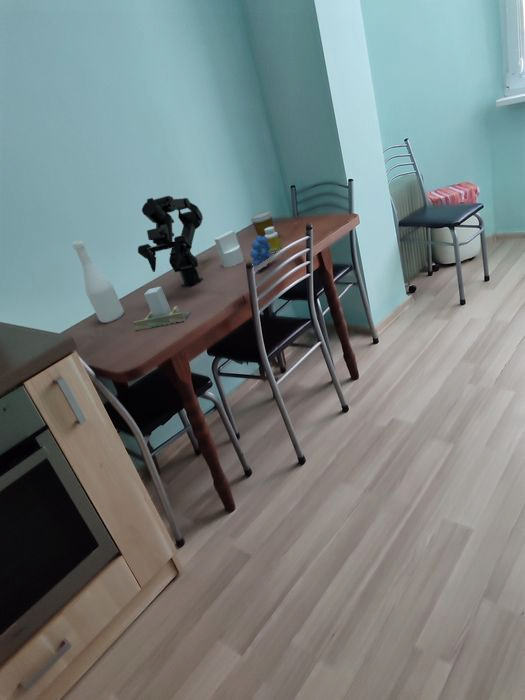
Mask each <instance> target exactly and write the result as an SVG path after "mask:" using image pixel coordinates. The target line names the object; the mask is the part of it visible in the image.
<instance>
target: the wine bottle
mask: <svg viewBox="0 0 525 700" xmlns="http://www.w3.org/2000/svg"><path fill="white" fill-rule="evenodd" d="M72 247H73V249H74V250H75V251H76V253H77V256H78V258H79V260H80V262H81V266H82V269H83V277H84V286H85V292H86V296H87V298H88V299H89V303H90V304H91V306H92V308H93V310H94V312H95V314H96V316H97V318H98V320H99V321H100V322H101V323H103V324H105V323H106V324H107V323H111V322H114V321H116V320H118V319H120V318H121V317H122V316H123V315H124V313H125V311H124V307H123V306H122V304H121V303H122V302H120V298H119V297H118V294H117V293H116V289H114V286H113V284H112V283H111V281H110V280H109V279H108V278H107V277H106V276H105V275H104V273H103V272H102V271H101V270H100V269H99V268H98V267H97V266H96V265H95V264H94V262H93V261H92V258H91V257H90V255H89V253H88V251H87V249H86V247H85V242H84V241H82V239H78V240H75V241H73V242H72Z"/></svg>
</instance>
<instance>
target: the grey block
mask: <svg viewBox="0 0 525 700" xmlns="http://www.w3.org/2000/svg"><path fill="white" fill-rule="evenodd" d="M143 295H144V298H145V300H146V302H147V305H148V307H149V310H150V312H152V314H153V317H159V316H164V315H169V314H170V313H171V311H172V309H171V307H170V305H169V303H168V299H167V297H166V295H165V293H164V291H163V287H162V286H156V287H153V288H152V287H151V288H149V289H148V290H146V292H145V293H144V294H143Z"/></svg>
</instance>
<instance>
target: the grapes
mask: <svg viewBox="0 0 525 700" xmlns="http://www.w3.org/2000/svg"><path fill="white" fill-rule="evenodd" d="M267 241H268V240H267V238H266V237H261V236H258V235H257V236H256V238H255V240H253V242H252V243H251V248H252V250H251V251H250V255H249V256H250V257H251V258H252V265H253V266H254V267H255V266H257V265H259V264H260V263H262V262H263V261H265V260H266V259H268V258H269V257H270V256H271V257H272V254H271V253H269V250H270V248H271V246H270V244H269V243H267ZM268 266H269V264H268V265H267V266H266V267H265V268H267V267H268ZM262 270H263V269H261V270H260V271H262Z"/></svg>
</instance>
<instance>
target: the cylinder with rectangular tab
mask: <svg viewBox="0 0 525 700" xmlns="http://www.w3.org/2000/svg"><path fill="white" fill-rule="evenodd" d="M214 243H215V245H216V248H217V251H218V255H219V258H220V261H221V264H222V267H223V268H225V267H228V268H232V266H233V267H236V266H238V265H237V264H239V263H241V262H242V263H244V261H245V258H244V255H243V252H242V249H241V245H240V244H239V240H238V237H237V235H236V231H235V230H230V231H227V232H226V233H224V234H222V235H220V236H217V237H216V238H214ZM243 260H244V261H243ZM242 263H241V264H242ZM235 265H236V266H235ZM239 265H240V264H239Z"/></svg>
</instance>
